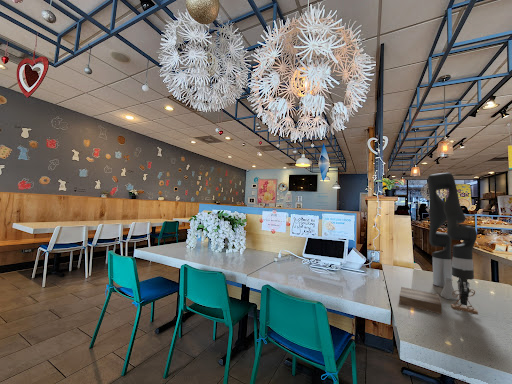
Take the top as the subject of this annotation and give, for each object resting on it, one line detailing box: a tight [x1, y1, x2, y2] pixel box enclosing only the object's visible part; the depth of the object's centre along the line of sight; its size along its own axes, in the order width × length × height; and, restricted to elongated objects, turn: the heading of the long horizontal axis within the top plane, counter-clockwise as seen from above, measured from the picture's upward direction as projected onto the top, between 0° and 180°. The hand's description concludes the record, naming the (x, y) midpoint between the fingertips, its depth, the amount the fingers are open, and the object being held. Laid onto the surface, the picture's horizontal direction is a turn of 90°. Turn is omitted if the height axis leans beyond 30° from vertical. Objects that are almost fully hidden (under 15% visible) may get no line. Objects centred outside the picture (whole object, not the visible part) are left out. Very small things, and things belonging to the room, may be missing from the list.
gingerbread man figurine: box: [450, 284, 479, 315], centre depth 104 cm, size 9×4×12 cm, turn 56°
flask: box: [439, 278, 459, 301], centre depth 118 cm, size 7×7×10 cm
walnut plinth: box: [399, 286, 443, 315], centre depth 110 cm, size 16×16×4 cm
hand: (463, 304), depth 104 cm, fingers closed on gingerbread man figurine, 1 cm apart
